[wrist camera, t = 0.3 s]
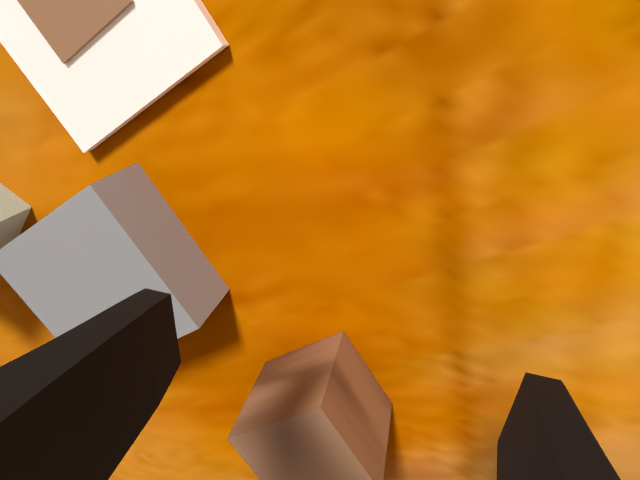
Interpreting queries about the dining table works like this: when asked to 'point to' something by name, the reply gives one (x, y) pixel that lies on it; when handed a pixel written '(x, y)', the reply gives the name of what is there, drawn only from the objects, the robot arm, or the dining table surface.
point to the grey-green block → (11, 215)
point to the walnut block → (315, 416)
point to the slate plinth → (110, 256)
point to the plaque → (106, 56)
